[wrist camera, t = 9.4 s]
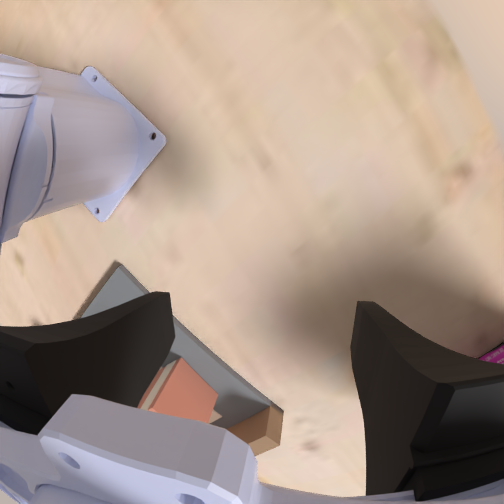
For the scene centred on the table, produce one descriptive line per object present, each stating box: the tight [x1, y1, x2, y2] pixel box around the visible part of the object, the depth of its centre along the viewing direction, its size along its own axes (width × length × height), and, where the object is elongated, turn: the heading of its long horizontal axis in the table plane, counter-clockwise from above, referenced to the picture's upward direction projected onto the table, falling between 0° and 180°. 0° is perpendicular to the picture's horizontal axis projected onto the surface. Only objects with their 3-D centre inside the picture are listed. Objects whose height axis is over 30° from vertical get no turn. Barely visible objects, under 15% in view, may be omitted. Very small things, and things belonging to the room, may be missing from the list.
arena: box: [81, 265, 284, 456], centre depth 24 cm, size 18×14×4 cm
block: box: [137, 357, 218, 423], centre depth 22 cm, size 5×9×6 cm, turn 128°
